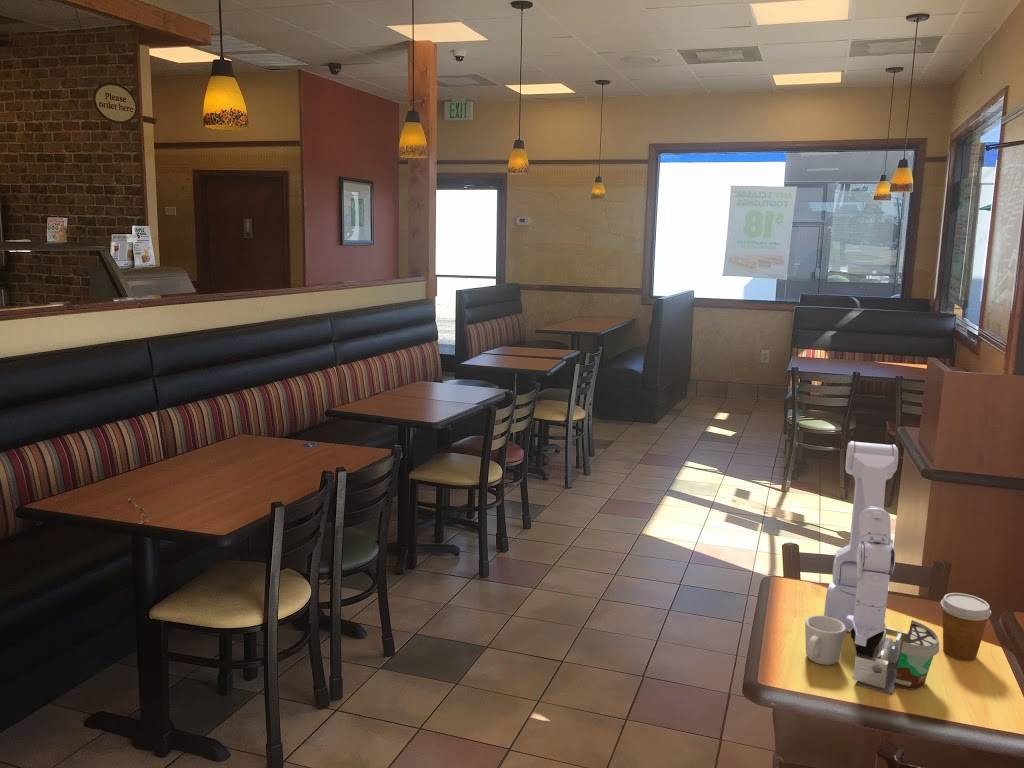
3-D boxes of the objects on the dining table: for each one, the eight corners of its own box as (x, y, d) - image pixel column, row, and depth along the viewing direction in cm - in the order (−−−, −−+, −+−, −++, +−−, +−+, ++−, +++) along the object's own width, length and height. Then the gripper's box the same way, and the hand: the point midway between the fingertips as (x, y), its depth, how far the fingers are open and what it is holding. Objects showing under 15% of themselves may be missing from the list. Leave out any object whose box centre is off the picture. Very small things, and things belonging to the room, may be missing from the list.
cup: (827, 678, 171) (831, 641, 170) (789, 664, 177) (793, 628, 175) (848, 659, 179) (852, 623, 178) (811, 645, 184) (815, 611, 183)
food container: (926, 701, 164) (937, 654, 162) (892, 688, 167) (902, 643, 165) (934, 673, 174) (944, 629, 172) (902, 662, 177) (912, 618, 175)
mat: (856, 684, 169) (856, 682, 169) (876, 642, 187) (876, 640, 187) (891, 694, 166) (892, 692, 166) (909, 650, 183) (909, 649, 183)
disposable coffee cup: (991, 667, 177) (998, 614, 175) (941, 662, 179) (948, 608, 176) (976, 645, 186) (983, 594, 184) (929, 640, 188) (935, 589, 186)
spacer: (875, 649, 182) (877, 626, 181) (876, 647, 184) (878, 623, 183) (905, 657, 179) (908, 634, 178) (906, 655, 180) (909, 631, 179)
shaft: (853, 679, 169) (855, 656, 168) (866, 652, 180) (869, 630, 179) (884, 688, 166) (887, 664, 165) (896, 660, 177) (898, 638, 176)
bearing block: (877, 660, 179) (880, 635, 178) (880, 653, 182) (883, 628, 181) (895, 665, 177) (898, 640, 176) (898, 658, 180) (901, 633, 179)
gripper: (857, 583, 176) (850, 644, 179) (841, 609, 164) (834, 673, 167) (893, 592, 172) (886, 653, 175) (880, 619, 160) (872, 685, 163)
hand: (863, 664), depth 171 cm, fingers closed
